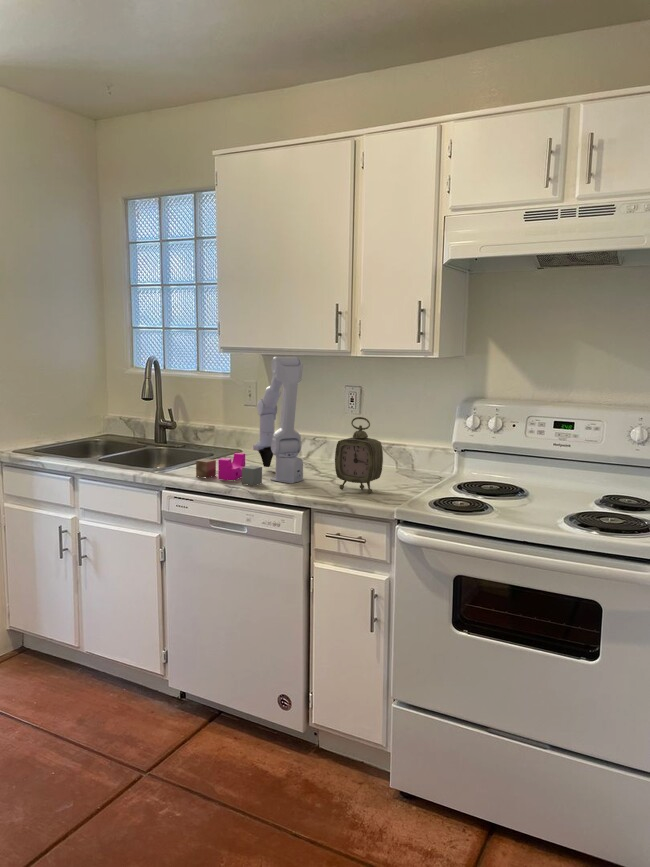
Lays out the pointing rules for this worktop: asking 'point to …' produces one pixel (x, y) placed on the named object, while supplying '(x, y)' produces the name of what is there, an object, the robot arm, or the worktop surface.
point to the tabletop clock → (359, 458)
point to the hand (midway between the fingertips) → (266, 466)
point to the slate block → (251, 475)
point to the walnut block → (205, 468)
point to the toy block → (231, 467)
